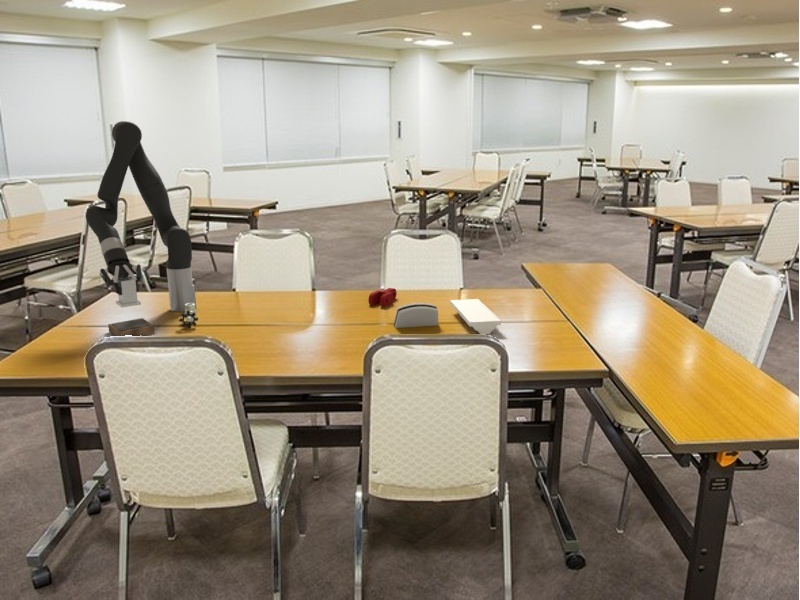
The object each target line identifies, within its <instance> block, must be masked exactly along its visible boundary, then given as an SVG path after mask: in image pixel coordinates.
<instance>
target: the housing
mask: <svg viewBox="0 0 800 600" xmlns="http://www.w3.org/2000/svg"><path fill="white" fill-rule="evenodd" d="M117 283H119V286H120V289H121V295H118V294H117V296H118V300H115V304H116V305H118V306H119V307H120V308H127V307H133V306H134V307H135V306H140V305H141V304H142V303H141V301H140V300H138V294H137V293H138V292H136V281H135V279H133V278H131V277H128V278H126V277H125V278H124V277H122V278H118V280H117Z"/></svg>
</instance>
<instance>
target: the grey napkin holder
mask: <svg viewBox="0 0 800 600" xmlns="http://www.w3.org/2000/svg"><path fill="white" fill-rule="evenodd" d="M393 325H394V328H395V329H400V328H416V327H418V328H419V327H428V326H429V327H431V326H432V327H433V326H439V309H438V307H437V305H435V304H432V303H426V302H415V303H413V302H412V303H408V304H404V305H401V306H398V307H397V308H396V312H395V317H394V320H393Z"/></svg>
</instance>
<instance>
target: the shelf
mask: <svg viewBox="0 0 800 600" xmlns="http://www.w3.org/2000/svg"><path fill="white" fill-rule="evenodd" d="M449 304H450V306H451V307H452V308H453V309H454V310H455V311H456V312H457V314H458V315H460V317H461V318H462V320H464V322H465V323H466V324H467V325H468V326H469V327H472V328H473V330H475V331H477V332H478V333H479V334H480V335H481V334H488V335H490V334H491V333H492V331H494V330H495V329H496V327H498V326H501V325H502V319H500V318H499V317H498V316H497V315H496V314H495V313H494V312H493V311H492V310H490V309H489V308H488V307H487V306H486V305H485V304H484V303H483V302H481V300H480V299H479V298H472V299H471V298H470V299H450V300H449ZM488 335H487V336H488Z"/></svg>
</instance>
